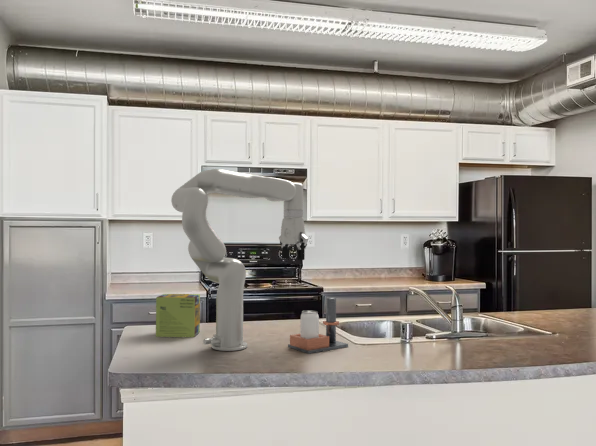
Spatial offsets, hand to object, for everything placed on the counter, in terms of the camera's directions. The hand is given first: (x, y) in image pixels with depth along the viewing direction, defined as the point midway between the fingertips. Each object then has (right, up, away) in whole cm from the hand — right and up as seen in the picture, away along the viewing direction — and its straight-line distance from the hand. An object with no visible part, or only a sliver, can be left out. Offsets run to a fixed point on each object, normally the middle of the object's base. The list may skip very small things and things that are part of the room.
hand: (293, 259), depth 213 cm
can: (+6, -30, -18) cm, 35 cm away
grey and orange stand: (+9, -30, -15) cm, 35 cm away
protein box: (-45, -30, +5) cm, 55 cm away
